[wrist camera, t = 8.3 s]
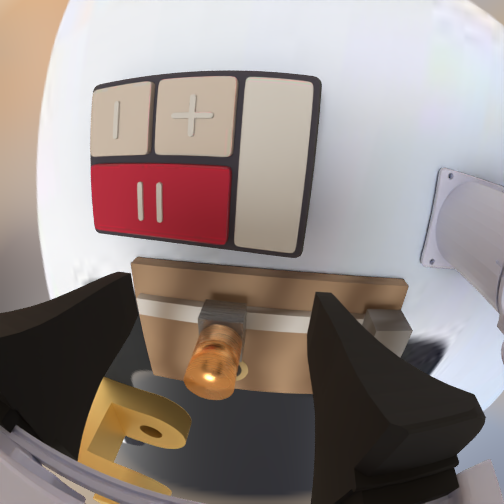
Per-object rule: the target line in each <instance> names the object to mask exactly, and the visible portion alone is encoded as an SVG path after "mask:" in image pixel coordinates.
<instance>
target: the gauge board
mask: <svg viewBox="0 0 504 504" xmlns="http://www.w3.org/2000/svg"><path fill="white" fill-rule="evenodd" d="M131 269H132V275H133V282H134V288H135V293H136V299H137V304H138V310H139V315H140V320H141V324H142V329H143V334H144V338H145V342H146V347H147V351H148V355H149V359H150V363H151V366H152V370H153V374H154V375H157V376H162V377H167V378H172V379H177V380H182V381H184V375H185V373H186V370H187V367H188V365H189V362H190V359H191V356H192V354H193V351H194V348H195V346H196V343H197V340H198V338H199V330H198V316H199V314H200V312H201V309H202V307H203V305H204V302H205V300H206V299H210V300H219V301H228V302H238V303H247V314H246V334H245V345H244V351H243V356H242V362H239V366H238V371H237V377H236V382H235V389H244V390H254V391H265V392H279V393H300V394H313V392H312V385H311V379H310V372H309V365H308V358H307V332H308V327H309V322H310V317H311V312H312V307H313V302H314V297H315V292H329V293H332V294H333V295H334V296H335V297H336V298H337V299H338V300H339V301H340V302H341V303H342V304H343V306H344V307H345V308H346V309H347V310H348V311H349V312H350V313H351V314H352V315H353V316H354V318H355V319H356V320H357V321H358V322H359V323H360V324H361V325H362V326H363V327H364V328H365V329H366V330H367V331H368V332H370V333H371V334H372V335H373V336H374V337H375V338H376V339H377V340H378V341H379V342H381V343H382V344H383V345H384V346H386V347H387V348H388V349H389V350H391V351H392V352H393V353H395V354H396V355H397V356H399V357H401V355H402V353H403V351H404V349H405V347H406V344H407V342H408V340H409V338H410V335H411V333H412V331H413V330H412V328H411V327H410V325H409V323H408V321H407V320H406V318H405V316H404V314H403V313H402V311H401V307H402V305H403V302H404V299H405V296H406V293H407V290H408V287H409V286H408V285H407V283H406V282H405V281H404V279H395V278H379V277H364V276H350V275H336V274H322V273H309V272H296V271H284V270H271V269H259V268H248V267H236V266H225V265H214V264H203V263H192V262H182V261H171V260H161V259H151V258H141V257H137V258H136V259H135V260H134V261H133V262H131Z"/></svg>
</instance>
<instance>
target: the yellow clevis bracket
mask: <svg viewBox="0 0 504 504" xmlns="http://www.w3.org/2000/svg"><path fill="white" fill-rule="evenodd" d="M190 426H191V418H190V416H189V414H188V413H187V412H186V411H185V410H184V409H183V408H182V407H181V406H179V405H178V404H176V403H175V402H173V401H171V400H169V399H167V398H165V397H163V396H160V395H157V394H154V393H150V392H147V391H144V390H141V389H138V388H135V387H131V386H128V385H125V384H122V383H119V382H117V381H114V380H111V379H109V378H106V377H103V379H102V381H101V383H100V386H99V388H98V391H97V393H96V395H95V398H94V400H93V403H92V406H91V409H90V412H89V414H88V418H87V421H86V425H85V428H84V432H83V435H82V440H81V445H80V450H79V456H78V461H77V462H79V463H81V464H84V465H86V466H88V467H90V468H92V469H94V470H97V471H99V472H101V473H104V474H106V475H108V476H111V477H113V478H116V479H119V480H121V481H124V482H127V483H129V484H132V485H135V486H138V487H141V488H144V489H148V490H151V491H154V492H158V493H161V494H165V495H169V496H171V493H172V491H171V490H170V489H169V488H168V487H166V486H164V485H163V484H161V483H159V482H158V481H156V480H154V479H151V478H149V477H147V476H145V475H143V474H141V473H138V472H136V471H133V470H131V469H128V468H126V467H123V466H121V465H118V464H116V463H114V460H115V458H116V456H117V453H118V451H119V449H120V446H121V444H122V442H123V439H124V437H125V436H128V437H130V438H133V439H136V440H139V441H142V442H145V443H148V444H151V445H154V446H158V447H162V448H168V449H177V448H181V447H183V446H184V445H185V443H186V439H187V436H188V433H189V429H190ZM93 499H94V500H96V501H98V502H99V503H101V504H120V503H117V502H115V501H112V500H110V499H108V498H105V497H103V496H101V495H98V494H96V493H95V495H94V497H93Z"/></svg>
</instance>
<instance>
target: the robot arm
mask: <svg viewBox="0 0 504 504" xmlns="http://www.w3.org/2000/svg"><path fill="white" fill-rule="evenodd" d="M449 173H450V174H451V177H450V178H448V175H449ZM503 191H504V187H503V186H500V185H497V184H494V183H491V182H489V181H486V180H483V179H480V178H477V177H474V176H470V175H467V174H464V173H461V172H457V171H454V170H450V169H447V168H441V169H440V171H439V175H438V182H437V188H436V194H435V199H434V205H433V210H432V215H431V220H430V224H429V229H428V233H427V237H426V241H425V245H424V249H423V253H422V256H421V264H422V265H423V266H425V267H436V268H448V269H456V270H457V271H458V272H459V273H460V274H461V275H462V276H463V277H464V278H465V279H466V280H467V281H468V282H469V283H470V284H472V285H473V287H474V288H475V289H476V290H477V291H478V292H479V293H480V294H481V295H482V296H483V297H484V298H485V299H486V300H487V301H488V302H489V303H490V304H491V305H492V306H493V307H494V309H495V310H496V311H497V312H498V313H499V314H500V317H499V321H498V324H497V327H498V328H499V329H500V331H501V332H502V333H503V334H504V193H503ZM431 259H432V262H430V260H431ZM429 262H430V263H429ZM137 317H138V312H137V307H136V301H135V296H134V290H133V285H132V278H131V273H124V272H116V273H113V274H110V275H107V276H105V277H102V278H100V279H98V280H96V281H93V282H91V283H89V284H87V285H85V286H82V287H80V288H78V289H76V290H73V291H71V292H69V293H66V294H64V295H62V296H59V297H57V298H54V299H52V300H49V301H47V302H44V303H41V304H38V305H35V306H31V307H27V308H23V309H19V310H15V311H11V312H5V313H0V504H85V503H84V502H85V500H86V499H85V497H84V496H82V495H81V494H79V493H77V492H76V491H74V490H73V489H71V488H70V487H68V486H67V485H66V484H65V483H63V482H62V481H61V480H60V479H58V478H57V477H56V476H55V475H54V474H52V473H51V472H49V471H48V470H46V469H45V468H44V467H42V464H43V465H44V466H46V467H48V468H49V469H51V470H52V471H54V472H56V473H58V474H59V475H61V476H63V477H65V478H66V479H68V480H70V481H72V482H74V483H76V484H78V485H80V486H82V487H84V488H86V489H88V490H90V491H92V492H94V493H96V494H98V495H101V496H103V497H105V498H108V499H110V500H112V501H115V502H117V503H120V504H205V503H200V502H195V501H190V500H185V499H181V498H176V497H173V496H169V495H165V494H161V493H158V492H154V491H151V490H148V489H144V488H141V487H138V486H135V485H132V484H129V483H127V482H124V481H121V480H119V479H116V478H113V477H111V476H108V475H106V474H104V473H101V472H99V471H97V470H94V469H92V468H90V467H88V466H86V465H84V464H81V463H79V462H77V461H78V456H79V450H80V445H81V440H82V435H83V432H84V428H85V425H86V421H87V418H88V414H89V412H90V409H91V406H92V403H93V400H94V398H95V395H96V393H97V391H98V388H99V386H100V383H101V381H102V379H103V377H104V375H105V374H106V372H107V370H108V369H109V367H110V365H111V364H112V362H113V360H114V359H115V357H116V356H117V354H118V352H119V351H120V349H121V348H122V346H123V344H124V343H125V341H126V340H127V338H128V336H129V335H130V332H131V330H132V328H133V326H134V324H135V321H136V319H137ZM501 355H502V360H503V364H504V341H503V344H502V349H501ZM307 358H308V365H309V372H310V379H311V385H312V392H313V399H314V407H315V461H314V462H315V463H314V477H313V488H312V498H311V504H504V501H503V498H502V494H501V490H500V487H499V483H498V480H497V477H496V474H495V471H494V468H493V465H492V462H491V460H490V459H488V460H486V461H484V462H482V463H480V464H477V465H475V466H473V467H470V468H468V469H466V470H464V471H462V472H460V473H459V474H457V475H456V473H455V469H454V467H456V466H457V465H458V464H459V460H458V457H457V454H458V453H459V452H460V451H461V450H462V449H463V448H464V447H465V446H466V445H467V444H468V443H469V442H470V441H472V440H473V438H474V437H475V436H476V435H477V434H478V433H479V432H480V430H481V429H482V427H483V425H484V423H485V418H486V417H485V415H484V413H483V411H482V409H481V407H480V405H479V403H478V401H477V399H476V397H475V395H474V394H472V393H469V392H466V391H464V390H461V389H458V388H456V387H453V386H450V385H448V384H446V383H444V382H442V381H440V380H437V379H435V378H433V377H431V376H429V375H428V374H426V373H424V372H422V371H420V370H419V369H417V368H416V367H414V366H412V365H411V364H409V363H408V362H406V361H404V360H403V359H402V358H400V357H399V356H397V355H396V354H395V353H393V352H392V351H391V350H389V349H388V348H387V347H386V346H384V345H383V344H382V343H381V342H379V341H378V340H377V339H376V338H375V337H374V336H373V335H372V334H371V333H370V332H368V331H367V330H366V329H365V328H364V327H363V326H362V325H361V324H360V323H359V322H358V321H357V320H356V319H355V318H354V316H353V315H352V314H351V313H350V312H349V311H348V310H347V309H346V308H345V307H344V306H343V304H342V303H341V302H340V301H339V300H338V299H337V298H336V297H335V296H334V295H333V294H332V293H329V292H315V297H314V302H313V307H312V312H311V317H310V322H309V327H308V332H307Z"/></svg>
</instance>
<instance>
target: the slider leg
mask: <svg viewBox="0 0 504 504" xmlns="http://www.w3.org/2000/svg"><path fill="white" fill-rule="evenodd" d="M246 314H247V303H238V302H228V301H219V300H210V299H206V300H205V302H204V305H203V307H202V309H201V312H200V314H199V316H198V330H199V338H198V340H197V343H196V346H195V348H194V351H193V354H192V356H191V359H190V362H189V365H188V367H187V370H186V373H185V375H184V383H185V385H186V387H187V388H188V389H189V390H190V391H191V392H192V393H194V394H196V395H197V396H200V397H202V398H206V399H211V400H221V399H225V398H228V397H229V396H231V395H232V393H233V392H234V388H235V382H236V377H237V371H238V366H239V362H242V356H243V351H244V345H245V334H246Z"/></svg>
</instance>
